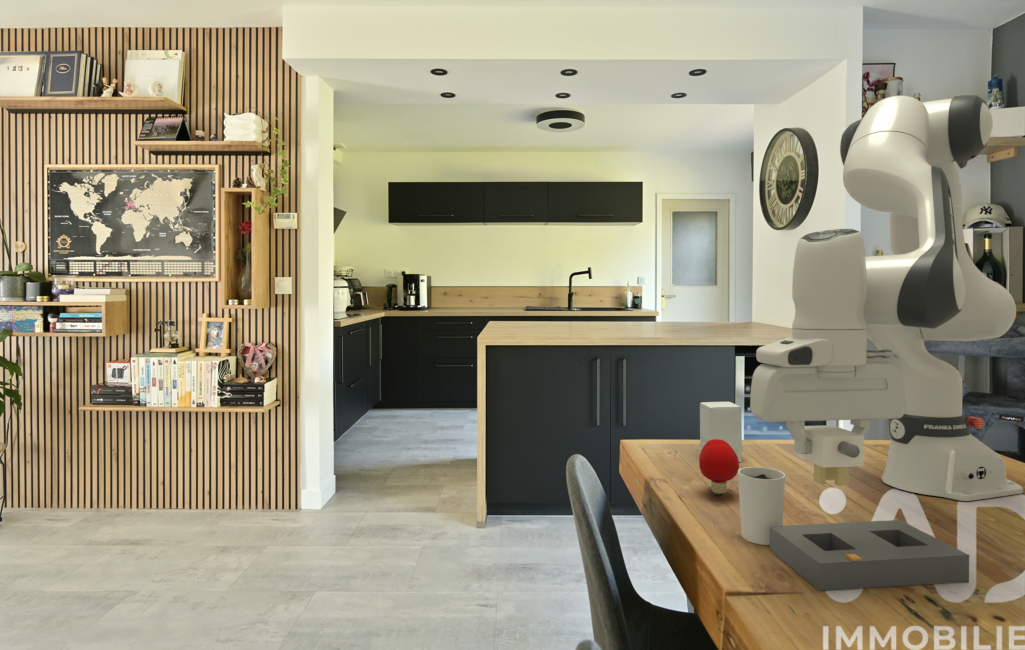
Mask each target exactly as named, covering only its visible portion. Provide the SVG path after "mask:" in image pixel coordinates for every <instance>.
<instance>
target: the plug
mask: <svg viewBox="0 0 1025 650" xmlns="http://www.w3.org/2000/svg"><path fill="white" fill-rule="evenodd" d="M800 430H801V432H802V434H803V435H804V437H805V439H807V440H809V441H812V448H811V449H812V453H811V454H798V453H796V452H795V451H794V455H795V456H797V457H800V458H801V459H803V460H806V461H807V462H810V463H812V464H813V482H815V483H817V484H818V485H826V484H827V483H826V482H827V481H832V480H833V481H834V485H836V486H838V487H841V486H843V487H845V486H846V487H847V486H849V467H850V468H851V467H852V468H853V467H864V455H865V454H864V452H865V451H864V447H865V445H864V443H865V441H864V439H865V437H864V436H863V435H860V434H857V433H854V432H851V431H852V430H848V429H844V428H841V427H839V426H836V425H831V424H830V425H805V428H804V429H800Z"/></svg>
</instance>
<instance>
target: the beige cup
mask: <svg viewBox="0 0 1025 650" xmlns="http://www.w3.org/2000/svg"><path fill="white" fill-rule="evenodd" d="M737 478H738V494H739V495H738V496H739V498H738V499H739V514H740V515H739V516H740V517H739V518H740V533H741V534H740V535H741V537H742V538H743V539H744V540H746V541H747V542H751V543H753V544H756V545H762V546H770V527H771V526H784V507H785V492H786V491H785V487H786V474H785V473H784V471H783V472H782V471H780V470H778V469H773V468H769V467H763V466H747V467H742V468H739V469H738V472H737Z"/></svg>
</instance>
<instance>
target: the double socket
mask: <svg viewBox="0 0 1025 650" xmlns="http://www.w3.org/2000/svg"><path fill="white" fill-rule="evenodd" d="M769 551H770V552H772V553H773V554H774V555H775V556H777V558H779V559H780V560H781V561H782V562H784V564H786V565H787V566H789V567H790V568H791V569H792V570H794V571H795V572H796V573H797V574H798V575H800V576H801V577H802V578H804V579H805V580H806V581H807V582H808V583H810V585H812V586H813V587H814V588H815V589H816V590H818V591H836V590H837V591H839V590H841V591H842V590H853V589H858V590H859V589H868V588H869V589H871V588H888V587H902V586H903V587H905V586H906V587H907V586H921V585H922V586H923V585H939V584H954V583H969V582H970V554H968V553H967V552H964V551H962V550H961V549H958V548H956V547H954V546H952V545H951V544H948V543H947V542H945V541H943V540H941V539H939V538H937V537H934V536H933V535H931V534H929V533H927V532H924V531H923V530H921V529H918V528H917V527H915V526H913V525H910V524H909V523H907V522H905V521H903V520H902V519H895V520H894V519H893V520H875V521H874V520H872V521H869V520H868V521H852V522H851V521H850V522H834V523H833V522H832V523H831V522H830V523H815V524H813V523H812V524H798V525H797V524H795V525H794V524H791V525H783V526H771V527H770V545H769Z"/></svg>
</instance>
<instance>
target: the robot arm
mask: <svg viewBox="0 0 1025 650" xmlns="http://www.w3.org/2000/svg"><path fill="white" fill-rule="evenodd" d="M993 122H994V121H993V116H992V113H991V111H990V109H989V107H988V106H987V101H985V100H984V99H983V98H982V97H981V96H979V95H975V94H967V95H965V94H964V95H955V96H953V97H952V98H945V99H935V100H931V101H929V100H928V101H923V102H922V101H920V100H918V99H917V98H915V97H914V96H913V97H912V96H910V95H894V96H888V97H885V98H883V99H881V100H879V101H876V103H874V104H873V105H872V106H871V107H870V108H869V109H868V110H867V111H866V113H865V114H864V115H863V118H859V120H856V121H854V122H852V123H851V124H849V125H848V127H846V129H845V130H844V131H843V133H842V134H841V138H840V139H841V140H840V146H839V155H840V159H841V163H842V165H843V171H842V182H843V186H844V188H845V190H846V192H847V193H848V194H849V196H850V197H851V198H852V199H853V200H854V201H856V202H857V203H859V204H860V205H862V206H863V207H866V208H868V209H871V210H874V211H878V212H883V213H885V212H886V213H889V229H890V232H889V233H890V249H891V251H892V253H893V254H888V255H886V254H885V255H884V254H883V255H871V256H866V252H865V245H864V239H863V234H862V232H861V231H860V230H857V229H853V228H837V229H827V230H823V231H814V232H810V233H807V234H805V235H803V236H801V237H800V238H799V239H798V242H797V245H796V249H795V253H794V254H795V255H794V260H793V270H792V282H791V283H792V285H791V287H792V289H791V290H792V293H791V295H792V300H793V301H792V302H793V303H794V304H793V305H794V311H795V312H794V318H793V322H792V326H791V328H792V329H791V335H790V336H787V337H785V338H782V339H780V340H777V341H774V342H771V343H768V344H765V345H762V346H759V347H758V348H757V349H756V353H755V357H756V361H757V362H759V363H761V364H760V365H758V366H757V367H756V368H755V369H754V371H753V374H752V378H751V387H750V399H749V401H750V403H749V405H750V411H751V413H752V414H753V416H754V417H755V418H756V419H758V420H761V421H762V422H767V423H785V424H786V426H785V427H786V429H787V430H788V432H789V433H790V435H791V437H792V439H794V441H793V443H794V447H793V449H794V453H795V452H796V453H798V454H811V453H812V449H811V448H812V441H809V440H807V439H805V437H804V435H803V434H802V432H801V430H800V429H804V428H805V426H806V425H805V424H806V422H817V421H819V422H820V421H822V422H823V421H826V422H827V421H850V423H849V424H850V425H851V426H853V427H852V429H851V430H850V431H851V432H854V433H857V434H860V435H863V436H864V438H865V437H866V435H867V433H868V432H869V431H870V429H871V420H888V429H889V431H888V432H889V437H890V438H889V446H888V454H887V458H886V462H885V466H884V469H883V472H882V474H881V477H880V478H881V479H880V480H881V481H882V482H883V483H884V484H886V485H888V486H890V487H893V488H896V489H899V490H903V491H906V492H910V493H917V494H920V495H926V496H927V495H928V496H935V497H941V498H942V497H943V498H946V499H951V500H955V501H959V502H960V501H961V502H969V501H977V500H985V499H991V498H999V497H1006V496H1012V495H1018V494H1023V493H1024V488H1023V486H1022V485H1020V484H1019V483H1016V482H1015V481H1013V480H1011V479H1007V469H1006V464H1005V461H1004V459H1003V457H1001V455H1000V454H999V453H997V452H996V451H995V450H993V449H991V448H990V447H989V446H988V445H986V444H984V443H983V442H982V441H980V439H978V438H977V437H975V436H974V435H973V434H972V431H971V428H973V427H974V428H975V429H982V428H983V427H984V426H985V420H984V419H983V418H982V417H976V416H969V417H967V416H965V415H964V414H963V377H962V375H961V373H960V371H959V370H958V369H957V368H956V367H954V366H953V365H952V364H950V363H949V362H947V361H944V360H942V359H940V358H938V357H935V356H933V355H931V354H930V353H929V352H928V350H927V348H926V345H925V341H941V342H943V341H944V342H945V341H949V342H974V341H975V342H976V341H984V340H990V339H997V338H1000V337H1002V336H1003V335H1004V334H1006V333H1007V332H1008V331H1009V330H1010V328H1011V327H1012V326H1013V324H1014V322H1015V319H1016V316H1017V305H1016V303H1015V299H1014V298H1013V296H1012V294H1011V293H1010V292H1009V291H1008V290H1007V289H1006V288H1005V287H1004V286H1003V285H1001V284H999V283H998V282H996V281H994V280H993V279H991V278H989V277H988V276H986V275H985V274H984V272H982V271H981V270H980V269H979V268H978V266H976V265H975V264H974V262H973V260H972V259H971V257H970V255H969V252H968V251H967V247H966V241H965V235H964V223H963V200H962V199H963V196H962V186H961V185H962V184H961V178H960V172H959V169H958V167H959V168H960V170H961V169H963V168H965V167H966V166H967V164H968V162H970V160H973V159H975V158H976V157H977V156H979V155H980V154H981V153H982V151H983V150H984V149H985V148H986V147H987V146H988V141H989V139H990V137H991V135H992V131H993ZM868 340H869V341H871V342H872V343H873V344H874V346H876V348H877V349H868V348H867V347H868V346H867V345H868V344H867V343H868ZM970 427H971V428H970Z"/></svg>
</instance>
